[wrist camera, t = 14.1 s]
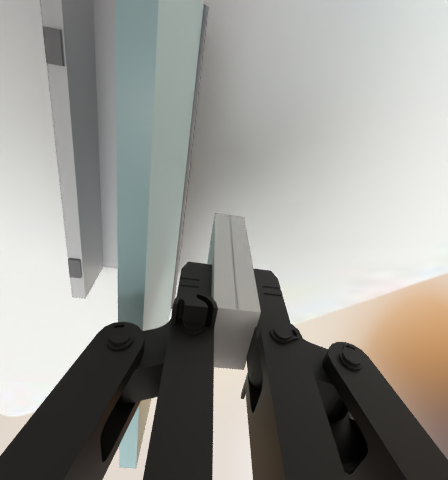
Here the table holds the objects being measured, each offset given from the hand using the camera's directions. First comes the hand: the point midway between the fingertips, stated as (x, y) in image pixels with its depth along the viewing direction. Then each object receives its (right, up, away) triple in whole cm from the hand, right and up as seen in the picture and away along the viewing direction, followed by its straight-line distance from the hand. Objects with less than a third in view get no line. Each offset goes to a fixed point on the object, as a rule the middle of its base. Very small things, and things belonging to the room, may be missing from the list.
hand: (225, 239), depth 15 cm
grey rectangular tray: (-7, +6, +8) cm, 12 cm away
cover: (-3, 0, 0) cm, 3 cm away
